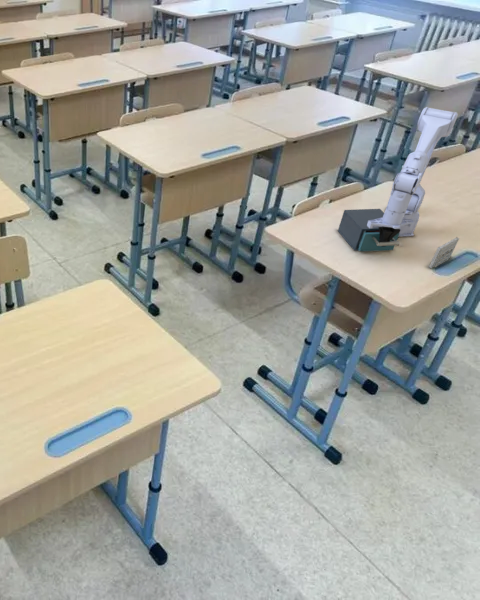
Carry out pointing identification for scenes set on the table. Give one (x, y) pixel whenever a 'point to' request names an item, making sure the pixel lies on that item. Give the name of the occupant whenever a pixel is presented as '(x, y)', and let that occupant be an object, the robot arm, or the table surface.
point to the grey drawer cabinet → (357, 224)
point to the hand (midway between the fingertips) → (382, 245)
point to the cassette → (443, 253)
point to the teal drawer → (376, 242)
